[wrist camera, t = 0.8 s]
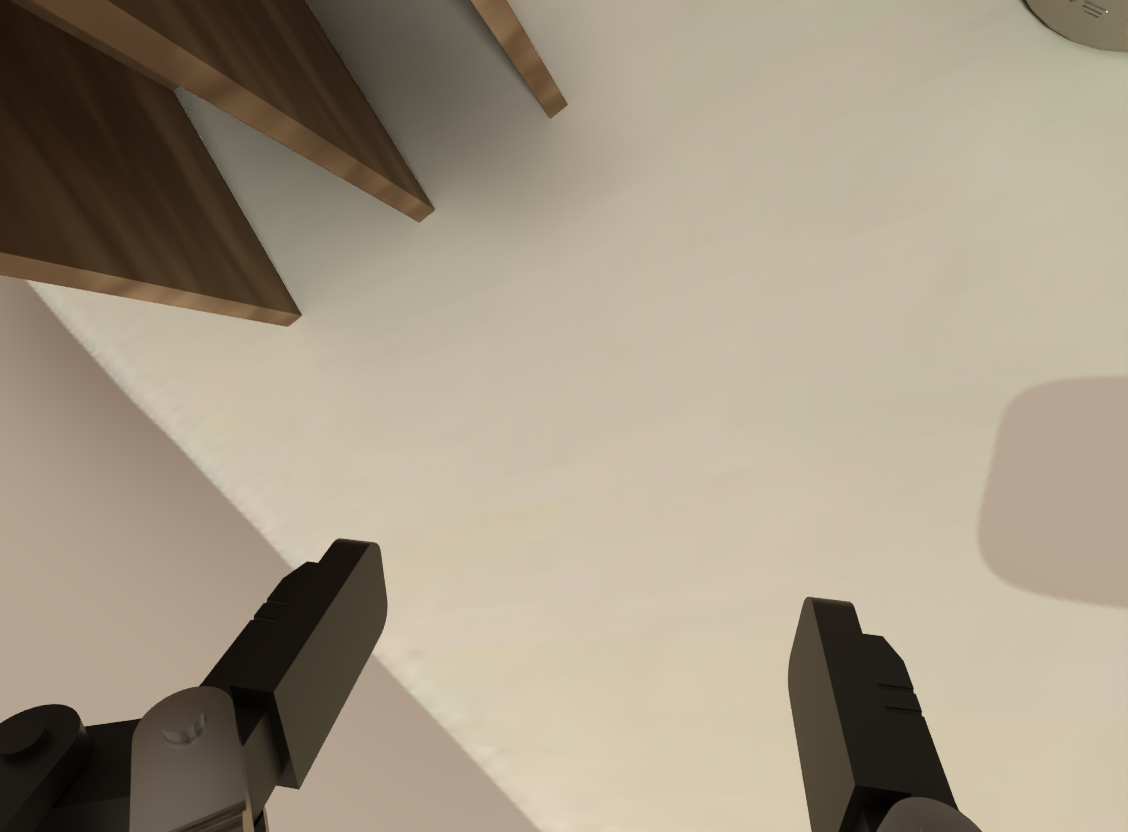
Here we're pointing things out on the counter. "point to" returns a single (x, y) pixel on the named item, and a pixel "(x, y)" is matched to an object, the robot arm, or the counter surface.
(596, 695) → the counter surface
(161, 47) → the stepped shelf
